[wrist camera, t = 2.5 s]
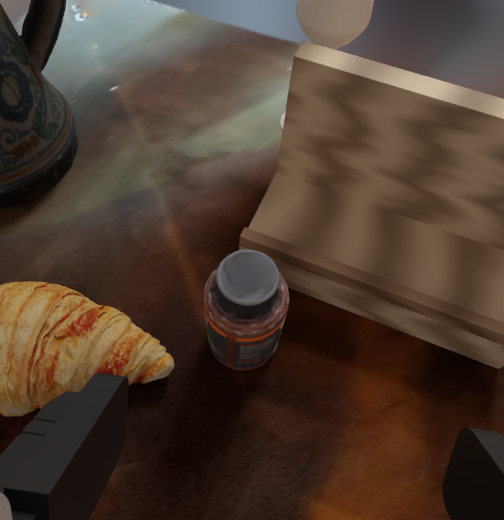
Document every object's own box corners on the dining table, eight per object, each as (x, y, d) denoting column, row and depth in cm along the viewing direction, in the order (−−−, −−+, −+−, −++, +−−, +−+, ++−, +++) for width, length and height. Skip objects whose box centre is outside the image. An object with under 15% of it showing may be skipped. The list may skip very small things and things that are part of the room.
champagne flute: (348, 130, 48) (440, -145, 28) (304, 153, 46) (368, -127, 25) (311, 97, 51) (370, -178, 30) (268, 118, 49) (299, -164, 28)
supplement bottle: (292, 338, 36) (316, 278, 26) (242, 388, 33) (248, 343, 23) (243, 292, 37) (249, 220, 28) (193, 336, 35) (180, 274, 25)
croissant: (185, 349, 38) (188, 279, 34) (159, 449, 30) (158, 372, 25) (-45, 320, 38) (-71, 246, 34) (-138, 413, 29) (-189, 329, 25)
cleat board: (509, 265, 40) (657, 143, 26) (498, 368, 35) (675, 285, 21) (279, 184, 44) (303, 40, 30) (238, 268, 39) (244, 140, 25)
